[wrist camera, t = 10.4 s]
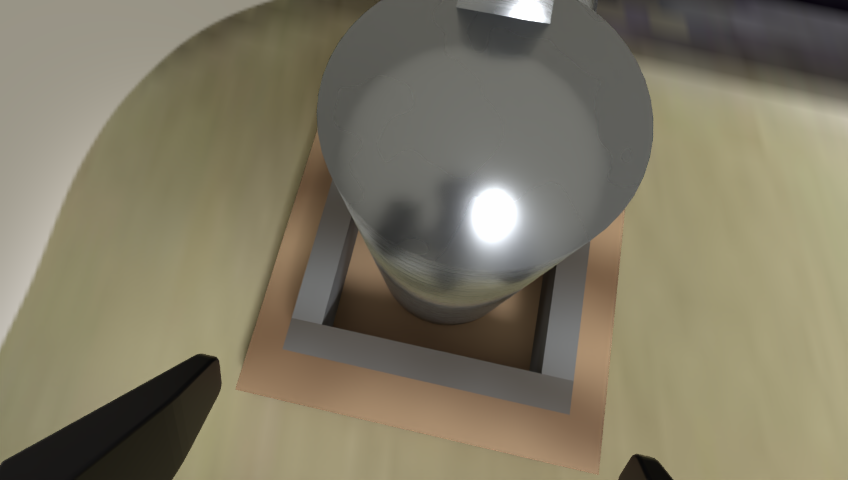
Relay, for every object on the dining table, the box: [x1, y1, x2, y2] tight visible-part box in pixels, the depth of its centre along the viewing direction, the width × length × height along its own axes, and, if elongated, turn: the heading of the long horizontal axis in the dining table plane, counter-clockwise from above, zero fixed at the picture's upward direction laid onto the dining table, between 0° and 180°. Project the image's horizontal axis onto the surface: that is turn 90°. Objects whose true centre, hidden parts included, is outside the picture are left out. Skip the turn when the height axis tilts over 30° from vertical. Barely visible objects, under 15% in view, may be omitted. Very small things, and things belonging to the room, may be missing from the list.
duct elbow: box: [317, 0, 653, 325], centre depth 14 cm, size 10×6×12 cm, turn 168°
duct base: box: [236, 129, 625, 475], centre depth 19 cm, size 18×15×3 cm
